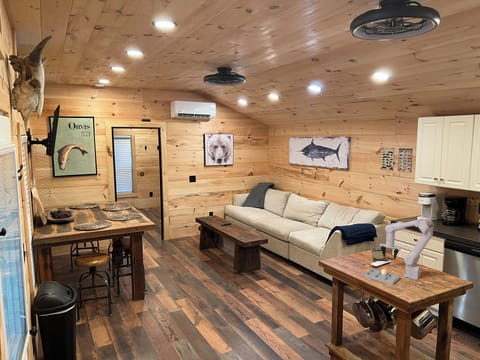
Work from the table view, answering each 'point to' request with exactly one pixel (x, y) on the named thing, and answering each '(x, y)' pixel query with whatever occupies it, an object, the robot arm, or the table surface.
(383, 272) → the egg
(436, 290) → the table surface
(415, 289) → the table surface
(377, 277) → the grey compartment tray
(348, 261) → the table surface
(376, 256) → the food container
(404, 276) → the robot arm
